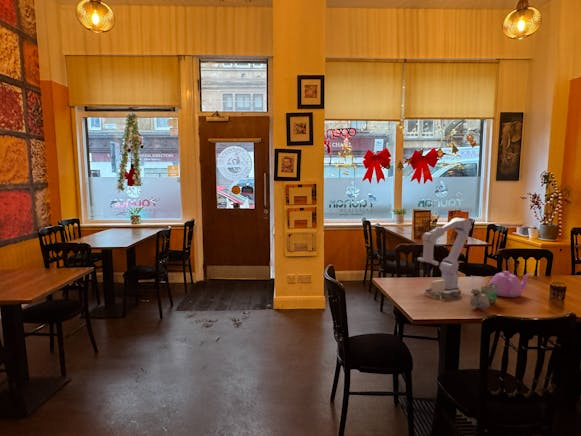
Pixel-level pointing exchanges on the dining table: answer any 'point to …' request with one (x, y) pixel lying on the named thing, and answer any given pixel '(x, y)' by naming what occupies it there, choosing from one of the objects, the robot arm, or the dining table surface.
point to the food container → (490, 292)
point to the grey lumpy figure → (479, 299)
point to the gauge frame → (444, 294)
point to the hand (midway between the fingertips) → (427, 274)
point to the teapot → (509, 284)
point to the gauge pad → (437, 286)
